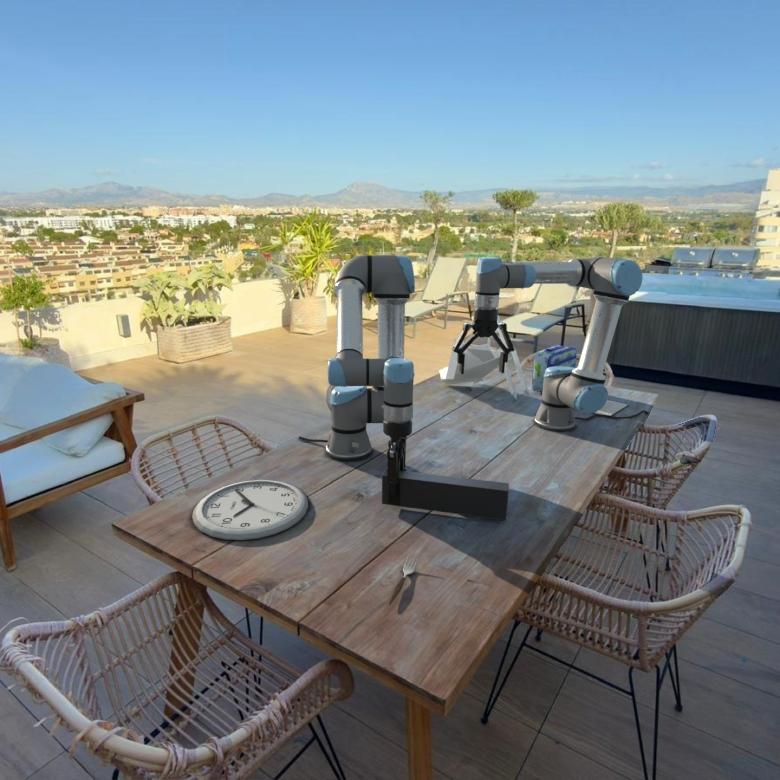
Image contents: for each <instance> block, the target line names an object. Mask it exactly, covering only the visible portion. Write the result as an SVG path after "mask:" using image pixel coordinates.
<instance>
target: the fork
mask: <svg viewBox="0 0 780 780" xmlns="http://www.w3.org/2000/svg"><path fill="white" fill-rule="evenodd" d="M415 556H416V555H414V556H413V554H411V555H410V554H408V555H407V558H406V560H405V563H404V565H403V568H402V572H403V576H402V578H401V579H400V581H398V583H397V584H396V586H395V588H394V591H393V593H392V596H391V598H390V600H389V603H388V605H389V606H391V605H392V603H393V602H394V600H395V599H396V597H397V596H398V594H399V593H400V592H401V590H402V588H403V585H404V583H405V580H406V577H407V576H409V575H411V574H413V573H415V571H416V567H417V562H418V559H419V556H416V557H415ZM409 557H410V558H409ZM412 557H413V560H412ZM415 558H416V559H415ZM411 561H412V562H411ZM414 562H415V563H414Z"/></svg>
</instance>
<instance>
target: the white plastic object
mask: <svg viewBox="0 0 780 780" xmlns="http://www.w3.org/2000/svg"><path fill="white" fill-rule="evenodd" d="M500 323H502V321H501V318H500V315H498V319H497V324H500ZM497 332H498V335H499V338H500V340H501V341H502V342H503V344H504V345H505V346H506V348H508V347H507V344H506V342H505V339H504V337H503V334H502V332H501V330H500V329H499V327H498V328H497ZM456 340H457V338H454V340H453V344H452V347H453V346H454V344H455V342H456ZM464 342H465V339H464V340H463V342H462V344H463V343H464ZM462 344H461V345H462ZM460 347H461V346H460ZM460 347H459V348H460ZM513 347H514V351H511V352H510V353H509V354H508V361H510V360H513V363H514V366H515V369H516V372H517V376H518V380H519V382H520V385H521V389H522V391H523V393H524V395H525V396H526V397H528V396H531V395H530V390H529V388H528V387H529V386H528V384H527V381H526V378H525V375H524V371H523V369H522V368H523V367H522V366H521V362H520V359H519V355H518V352H517V349H516V347H515V346H514V345H513ZM501 352H503V350H502V349H501V348H500V347H499V348H498V349H496V350H495V349H493V348H492V347H491V346H490V344H489V343H488V342H487V343H483V344H479V345H473V346H469V347H468V348H467V349H466V350H465V351H464V352H463V353H464V354H465V362H464V374H461V373H460V372H459V368H460V364H459V363H458V362H457V353H456V352H454V351H453V350H452V349H451V353H450V357H449V362H448V366H446V367H444V368H442V369H440V370H439V371H438V372H439V376H440V381H442V383H443V384H444V385H445V386H449V385H458V384H467V383H468V384H469V383H473V384H477V383H480V382H482V381H484V378H485V377H486V376H487V375H489V374H490V373H492V372H494V371H495V370H496V369H497V368H499V365H500V353H501ZM503 374H504V376H505V380H506V383H507V386H508V390H509V393H510V394H511V395H512V397H513V398H514V399H515V400H517V392H516V391H517V390H516V388H515V385H514V381H513V378H512V375H511V371H510V369H509V365H508V362H507V363H505V367H504V373H503Z"/></svg>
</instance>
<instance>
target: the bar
mask: <svg viewBox="0 0 780 780" xmlns="http://www.w3.org/2000/svg"><path fill="white" fill-rule="evenodd" d="M386 480H387V468H385V470H384V471H383V474H382V475H381V504H382V505H387V506H393V505H392V504H389V484H387V483H386ZM399 482H400V487H399V505H394V507H395V506H396V507H402V508H411V509H418V510H426V511H431V512H433V511H434V512H439V513H440V512H441V513H448V514H455V515H463V516H469V517H478V518H484V519H485V518H486V519H492V520H493V519H494V520H501V521H507V514H508V513H507V512H508V503H509V493H510V491H509V490H510V482H501V481H492V480H483V479H478V478H477V479H475V478H467V477H459V476H452V475H451V476H450V475H444V474H443V475H442V474H441V475H440V474H433V473H426V472H425V473H424V472H416V471H408V470H407V471H401V470H399Z"/></svg>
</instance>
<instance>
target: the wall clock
mask: <svg viewBox="0 0 780 780" xmlns="http://www.w3.org/2000/svg"><path fill="white" fill-rule="evenodd" d="M308 509H309V502H308V498H307V496H306V494H305V493H304V492H303V491H302V490H300V489H299V488H297V487H296V486H294V485H292V484H289V483H286V482H284V481H283V482H282V481H276V480H268V479H267V480H266V479H257V480H245V481H240V482H236V483H231V484H229V485H226V486H223V487H220V488H218V489H216V490H214V491H212V492H210V493H209V494H207V495H205V497H203V498H202V499H201V500H200V501H198V503H197V504H196V506H195V507H194V508H193V512H192V516H191V517H192V521H193V524H194V526H195V527H196V528H197V530H199V531H200V532H201V533H203V534H206V535H207V536H210V537H212V538H216V539H222V540H226V541H227V540H229V541H245V540H246V541H247V540H256V539H261V538H265V537H266V538H267V537H271V536H274V535H276V534H278V533H281V532H283V531H286V530H288V529H289V528H291V527H293V526H295V525H296V524H297V523H299V522H300V521H301V520H302V518H304V516H305V515H306V513H307V511H308Z"/></svg>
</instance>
